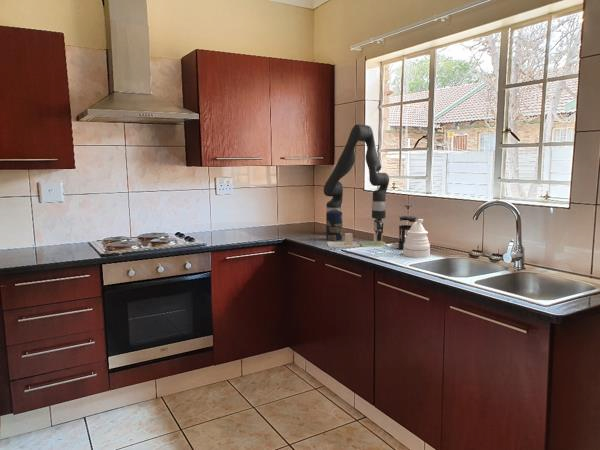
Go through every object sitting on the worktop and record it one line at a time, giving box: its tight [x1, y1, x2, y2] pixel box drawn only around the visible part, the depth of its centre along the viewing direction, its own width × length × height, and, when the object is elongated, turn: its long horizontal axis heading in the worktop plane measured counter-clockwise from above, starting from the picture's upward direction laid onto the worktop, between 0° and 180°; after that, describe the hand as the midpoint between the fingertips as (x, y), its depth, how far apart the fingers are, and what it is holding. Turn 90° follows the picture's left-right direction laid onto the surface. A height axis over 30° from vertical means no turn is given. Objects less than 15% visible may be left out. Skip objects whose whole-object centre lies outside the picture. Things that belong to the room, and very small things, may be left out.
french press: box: [397, 205, 417, 251], centre depth 253 cm, size 12×9×23 cm
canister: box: [325, 210, 343, 242], centre depth 280 cm, size 10×10×18 cm
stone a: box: [373, 232, 383, 245], centre depth 264 cm, size 4×4×6 cm
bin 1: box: [326, 241, 361, 248], centre depth 264 cm, size 12×17×1 cm
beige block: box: [343, 232, 354, 245], centre depth 264 cm, size 4×4×6 cm
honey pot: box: [402, 218, 431, 259], centre depth 236 cm, size 13×13×18 cm
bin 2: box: [357, 240, 389, 248], centre depth 265 cm, size 12×14×1 cm
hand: (378, 239), depth 264 cm, fingers open, 5 cm apart
